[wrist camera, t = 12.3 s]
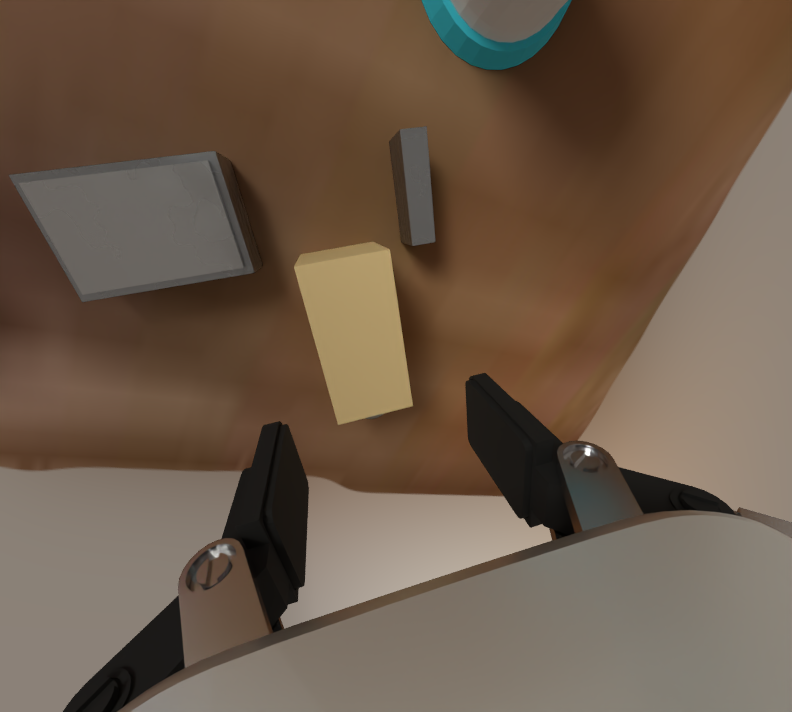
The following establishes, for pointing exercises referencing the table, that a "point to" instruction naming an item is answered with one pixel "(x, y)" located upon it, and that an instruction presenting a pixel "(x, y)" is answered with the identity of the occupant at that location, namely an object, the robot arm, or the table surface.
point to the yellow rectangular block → (356, 329)
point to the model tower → (495, 28)
